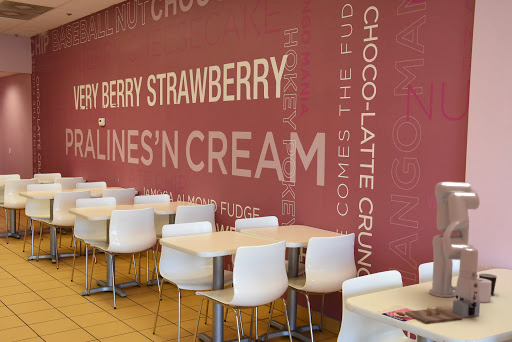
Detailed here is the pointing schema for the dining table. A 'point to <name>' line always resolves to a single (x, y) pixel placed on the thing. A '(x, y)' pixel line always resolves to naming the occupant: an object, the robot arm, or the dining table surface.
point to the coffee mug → (491, 278)
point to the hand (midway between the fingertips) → (465, 312)
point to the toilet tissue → (484, 290)
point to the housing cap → (464, 308)
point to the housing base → (433, 315)
